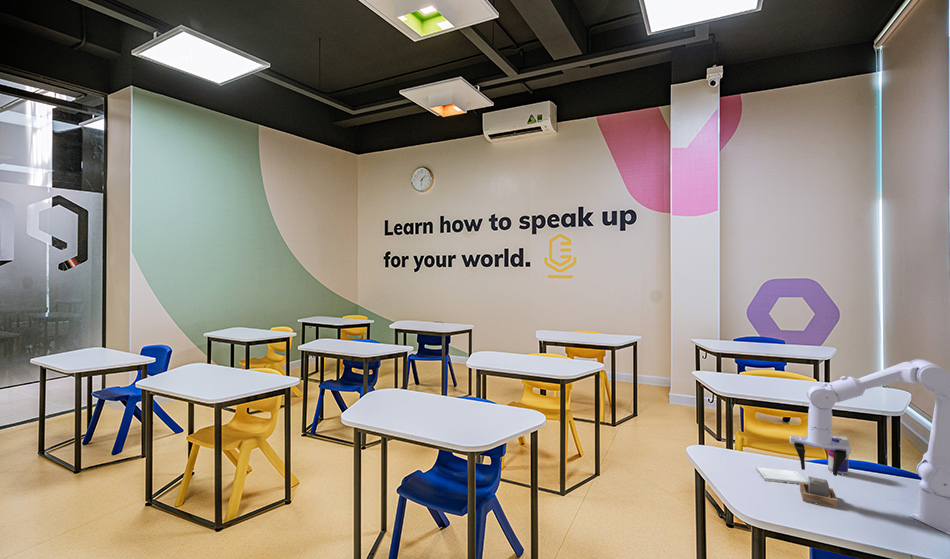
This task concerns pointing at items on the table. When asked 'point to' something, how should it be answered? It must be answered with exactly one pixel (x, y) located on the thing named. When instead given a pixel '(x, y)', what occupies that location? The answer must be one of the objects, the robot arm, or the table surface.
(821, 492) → the block
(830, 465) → the energy drink
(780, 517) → the table surface
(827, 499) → the wooden tray
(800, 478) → the hard drive
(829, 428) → the robot arm
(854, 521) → the table surface
